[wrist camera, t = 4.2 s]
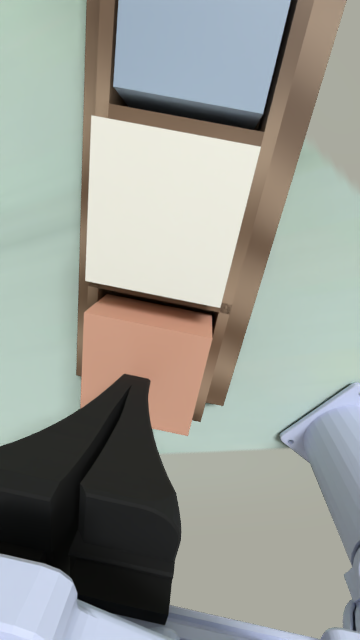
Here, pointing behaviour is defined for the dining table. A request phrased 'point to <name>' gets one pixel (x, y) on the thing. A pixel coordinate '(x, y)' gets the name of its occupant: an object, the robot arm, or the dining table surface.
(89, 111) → the wooden compartment tray
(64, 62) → the dining table surface
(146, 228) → the cream key
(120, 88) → the slate blue key
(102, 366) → the terracotta key
